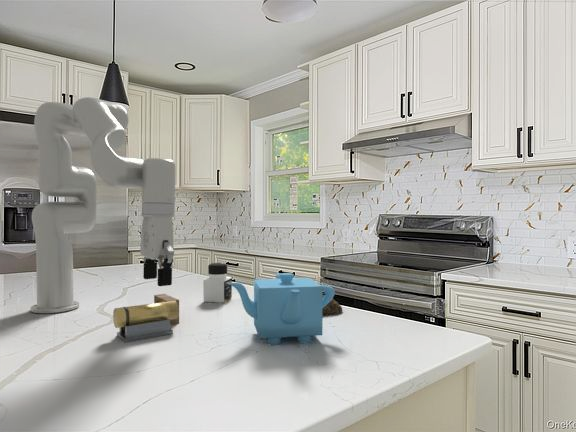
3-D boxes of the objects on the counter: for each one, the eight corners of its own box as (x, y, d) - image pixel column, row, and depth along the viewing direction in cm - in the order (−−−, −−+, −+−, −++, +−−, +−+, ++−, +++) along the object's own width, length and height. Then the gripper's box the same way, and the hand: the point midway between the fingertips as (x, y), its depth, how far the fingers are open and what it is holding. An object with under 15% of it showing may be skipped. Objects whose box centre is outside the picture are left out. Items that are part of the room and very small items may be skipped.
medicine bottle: (224, 303, 135) (224, 264, 135) (203, 302, 136) (202, 264, 136) (232, 298, 142) (231, 262, 142) (211, 297, 143) (211, 261, 143)
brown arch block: (154, 317, 118) (154, 295, 118) (164, 315, 119) (164, 293, 119) (167, 324, 110) (167, 301, 110) (179, 323, 111) (179, 299, 111)
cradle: (116, 335, 100) (116, 321, 100) (162, 327, 107) (162, 314, 107) (124, 342, 95) (124, 327, 95) (172, 333, 102) (172, 319, 102)
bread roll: (304, 318, 118) (304, 299, 117) (294, 308, 130) (294, 291, 130) (348, 315, 120) (348, 297, 120) (335, 306, 132) (335, 289, 132)
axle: (117, 332, 96) (119, 314, 95) (112, 321, 99) (114, 304, 98) (177, 322, 104) (179, 306, 103) (170, 312, 108) (173, 297, 106)
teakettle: (340, 334, 101) (340, 272, 101) (296, 356, 86) (296, 283, 86) (275, 322, 112) (275, 266, 112) (226, 340, 97) (226, 275, 97)
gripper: (131, 209, 107) (130, 277, 108) (155, 212, 94) (154, 290, 94) (160, 209, 112) (159, 275, 113) (188, 212, 98) (186, 286, 99)
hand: (157, 281), depth 103 cm, fingers open, 9 cm apart
